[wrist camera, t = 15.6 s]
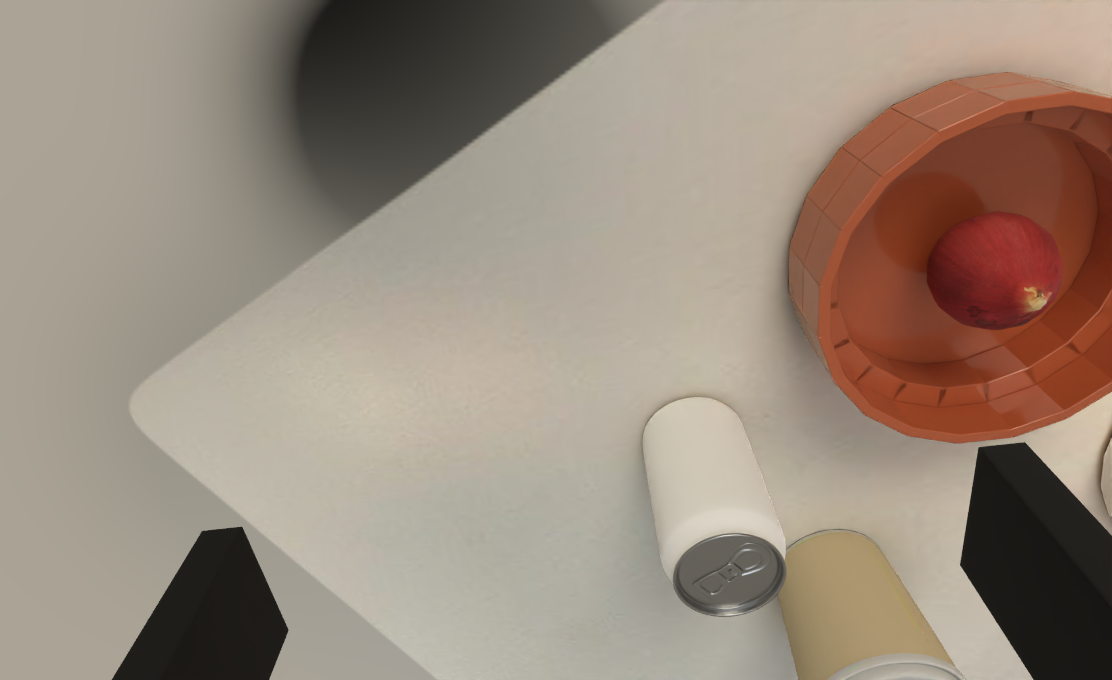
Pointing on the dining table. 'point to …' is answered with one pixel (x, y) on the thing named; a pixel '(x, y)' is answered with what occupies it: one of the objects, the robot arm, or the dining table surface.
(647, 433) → the can
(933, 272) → the onion
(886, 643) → the coffee cup
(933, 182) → the bowl
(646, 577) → the dining table surface
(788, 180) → the dining table surface
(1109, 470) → the kettle
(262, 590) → the robot arm
